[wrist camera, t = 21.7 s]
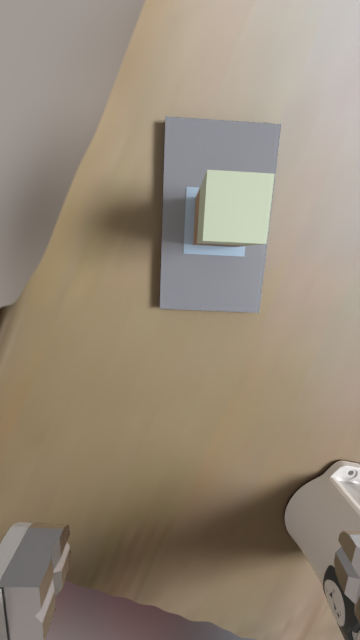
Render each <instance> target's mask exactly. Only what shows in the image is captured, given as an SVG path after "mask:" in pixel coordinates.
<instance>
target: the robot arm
mask: <svg viewBox="0 0 360 640" xmlns="http://www.w3.org/2000/svg"><path fill="white" fill-rule="evenodd" d="M285 525H286V529H287V531H288V533H289V534H290V536H291V537H292V538H293V539H294V541H295V542H296V543H297V545H298V546H299V548H300V549H301V550H302V552H303V553H304V555H305V557H306V558H307V560H308V561H309V563H310V565H311V566H312V568H313V570H314V572H315V573H316V575H317V577H318V579H319V580H320V582H321V584H322V586H323V590H324V593H325V595H326V598H327V601H328V603H329V606H330V608H331V611H332V613H333V615H334V617H335V619H336V621H337V624H338V626H339V628H340V630H341V632H342V635H343V637H344V639H345V640H360V464H359V463H353V462H348V461H338V462H336V463H334V464H333V465H332V466H331V467H330V468H329V469H328V470H327V471H326V472H325V473H324V474H323V475H321V476H319V477H318V478H316V479H314V480H312V481H310V482H308V483H307V484H305V485H304V486H302V487H301V488H300V489H299V490H298V491H297V492H296V493H295V494H294V495H293V497H292V498H291V500H290V501H289V503H288V505H287V508H286V511H285ZM69 535H70V531H69V525H64V524H46V523H24V522H16V523H15V524H14V525H13V526H12V527H11V528H10V529H9V530H8V532H7V534H6V535H5V537H4V538H3V540H2V542H1V543H0V640H45V638H46V635H47V632H48V630H49V626H50V624H51V621H52V618H53V615H54V612H55V609H56V608H55V596H56V595H57V594H58V593H59V592H60V591H61V590H62V588H63V586H64V583H65V580H66V577H67V572H68V568H69V563H70V554H71V550H70V545H69V544H68V543H67V540H68V537H69Z"/></svg>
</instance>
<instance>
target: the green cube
mask: <svg viewBox="0 0 360 640" xmlns="http://www.w3.org/2000/svg"><path fill="white" fill-rule="evenodd" d="M274 176H275V174H271V173H255V172H238V171H222V170H207V171H206V174H205V176H204V179H203V181H202V183H201V186H200V200H199V217H198V234H197V243H202V244H222V245H243V246H252V245H261V244H267V236H268V227H269V219H270V210H271V201H272V193H273V184H274Z"/></svg>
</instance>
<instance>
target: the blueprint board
mask: <svg viewBox="0 0 360 640" xmlns="http://www.w3.org/2000/svg"><path fill="white" fill-rule="evenodd" d="M280 130H281V124H270V123H255V122H240V121H225V120H211V119H196V118H181V117H166V116H165V149H164V182H163V216H162V250H161V283H160V309H179V310H204V311H230V312H255V313H259V310H260V301H261V293H262V284H263V276H264V267H265V258H266V250H267V244H261V245H252V246H242V247H226V246H206V245H193V235H194V217H195V199H196V195H197V193H198V190H199V188H200V186H201V183H202V181H203V179H204V176H205V174H206V171H207V170H222V171H238V172H255V173H271V174H275V173H276V164H277V156H278V147H279V139H280ZM274 181H275V176H274ZM273 190H274V184H273ZM272 199H273V193H272ZM271 207H272V201H271ZM270 216H271V210H270ZM269 224H270V219H269ZM268 233H269V227H268ZM267 241H268V236H267Z"/></svg>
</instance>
